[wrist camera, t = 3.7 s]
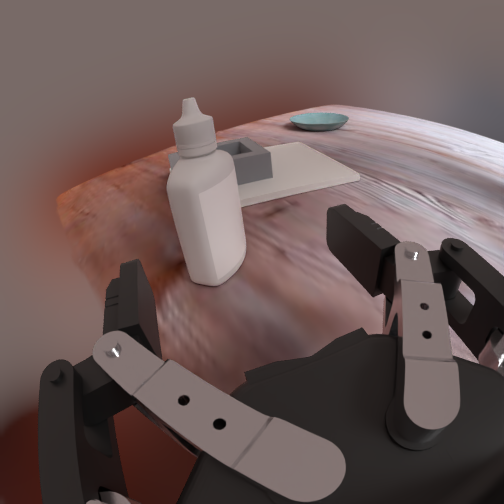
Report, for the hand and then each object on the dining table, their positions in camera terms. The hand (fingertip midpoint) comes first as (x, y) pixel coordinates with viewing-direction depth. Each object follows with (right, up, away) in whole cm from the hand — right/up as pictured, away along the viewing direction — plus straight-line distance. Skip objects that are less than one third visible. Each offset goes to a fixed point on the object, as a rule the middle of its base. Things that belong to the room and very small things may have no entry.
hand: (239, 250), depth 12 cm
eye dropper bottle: (-2, -1, +10) cm, 11 cm away
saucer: (+14, +24, +44) cm, 52 cm away
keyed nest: (+1, +10, +25) cm, 26 cm away
